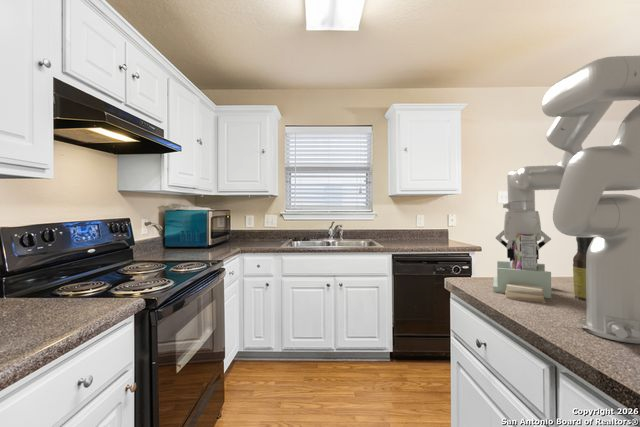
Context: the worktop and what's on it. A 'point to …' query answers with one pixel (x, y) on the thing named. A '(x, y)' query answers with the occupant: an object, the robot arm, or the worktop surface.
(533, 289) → the ash offcut
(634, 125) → the robot arm
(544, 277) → the rack
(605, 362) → the worktop surface
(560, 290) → the worktop surface
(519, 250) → the candy bar box
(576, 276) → the sauce bottle
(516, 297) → the birch offcut
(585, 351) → the worktop surface
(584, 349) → the worktop surface
